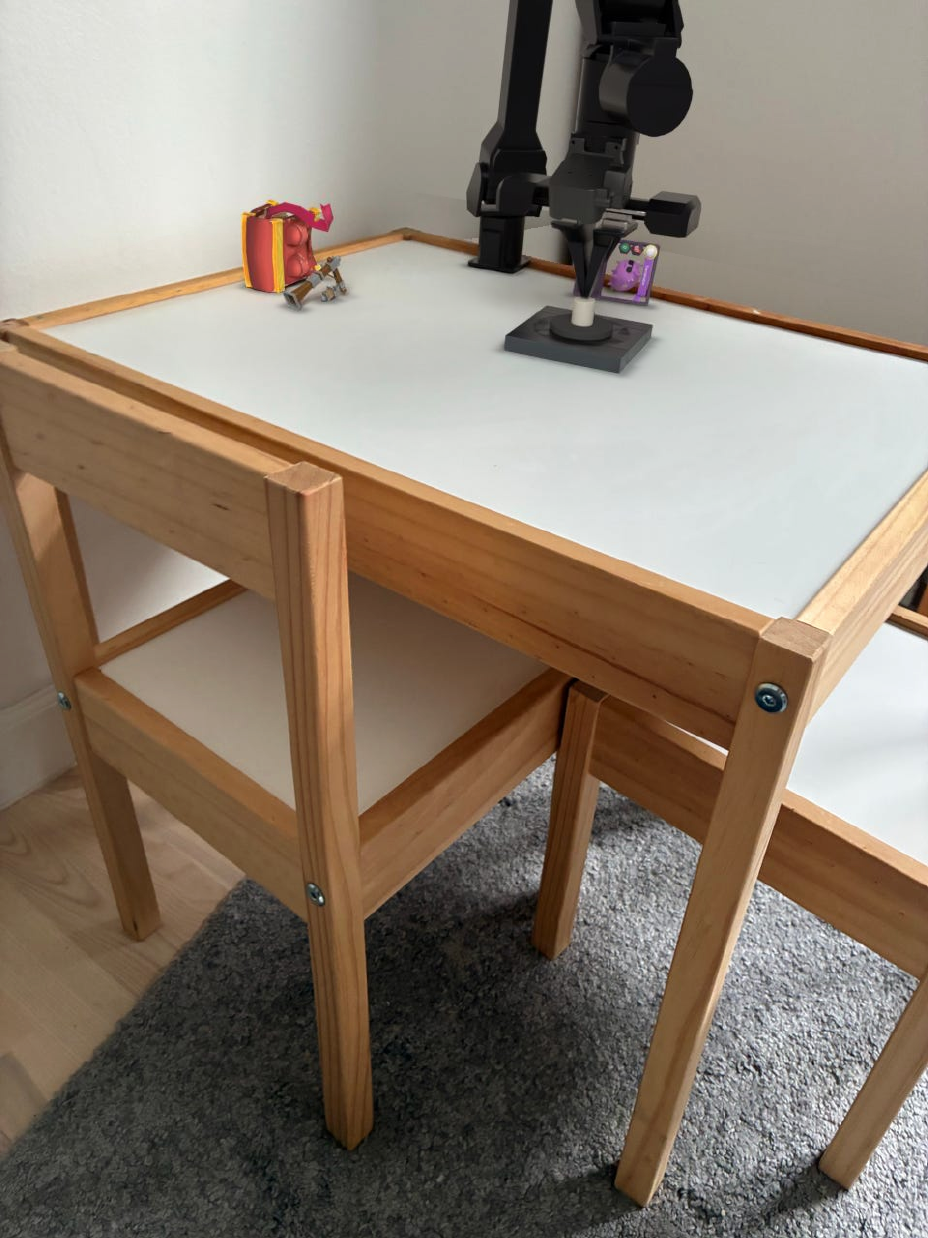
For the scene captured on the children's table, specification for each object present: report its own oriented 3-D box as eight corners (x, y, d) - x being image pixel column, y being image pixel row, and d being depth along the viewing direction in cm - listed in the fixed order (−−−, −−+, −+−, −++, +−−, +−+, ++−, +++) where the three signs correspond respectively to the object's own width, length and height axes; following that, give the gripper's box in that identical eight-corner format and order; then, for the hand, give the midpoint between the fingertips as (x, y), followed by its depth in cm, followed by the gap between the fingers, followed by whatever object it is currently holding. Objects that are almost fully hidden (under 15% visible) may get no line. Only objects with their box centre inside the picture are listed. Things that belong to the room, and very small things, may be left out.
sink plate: (545, 318, 99) (546, 304, 98) (650, 338, 95) (653, 324, 94) (504, 350, 90) (505, 335, 89) (618, 373, 86) (621, 357, 85)
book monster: (277, 266, 110) (359, 290, 106) (228, 284, 103) (313, 310, 99) (273, 172, 103) (360, 193, 99) (221, 185, 97) (311, 208, 93)
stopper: (560, 328, 96) (565, 286, 93) (618, 339, 94) (624, 296, 91) (539, 345, 91) (544, 301, 88) (599, 357, 89) (606, 312, 87)
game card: (582, 233, 104) (659, 243, 102) (590, 240, 109) (664, 250, 107) (571, 293, 106) (646, 305, 104) (579, 298, 111) (651, 309, 109)
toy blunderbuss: (356, 287, 102) (342, 251, 98) (307, 329, 99) (291, 294, 95) (345, 283, 103) (331, 248, 99) (296, 325, 100) (281, 290, 96)
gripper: (477, 117, 78) (467, 300, 87) (690, 141, 72) (656, 335, 81) (523, 106, 86) (510, 274, 95) (717, 127, 80) (684, 304, 89)
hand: (585, 296), depth 90 cm, fingers closed
